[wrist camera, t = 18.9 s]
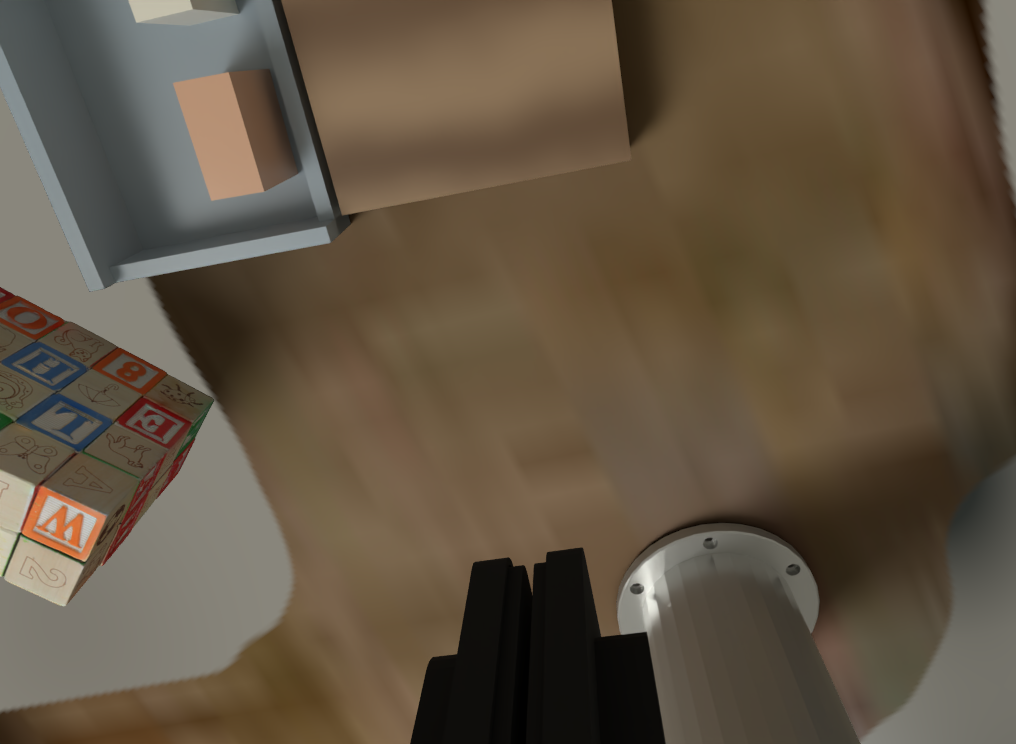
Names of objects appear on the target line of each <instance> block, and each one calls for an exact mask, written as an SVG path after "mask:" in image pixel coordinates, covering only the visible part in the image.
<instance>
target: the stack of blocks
mask: <svg viewBox="0 0 1016 744" xmlns="http://www.w3.org/2000/svg"><path fill="white" fill-rule="evenodd" d="M213 402H214V399H213V398H212V397H210V396H208V395H206V394H204V393H202V392H201V391H199V390H196V389H195V388H193V387H191V386H189V385H187V384H186V383H184V382H181V381H180V380H178V379H176V378H174V377H172V376H170V375H168V374H167V373H166V372H165V371H163V370H162V369H160V368H158V367H156V366H154V365H152V364H150V363H148V362H146V361H145V360H143V359H141V358H139V357H137V356H135V355H133V354H131V353H129V352H127V351H125V350H124V349H121V348H118V347H117V346H116V345H114V344H112V343H110V342H109V341H107V340H105V339H103V338H101V337H100V336H98V335H96V334H94V333H92V332H90V331H88V330H86V329H84V328H83V327H81V326H79V325H77V324H75V323H73V322H67V321H64V320H63V319H62V318H60V317H58V316H55V315H53V314H52V313H50V312H47V311H45V310H44V309H42V308H40V307H39V306H37V305H35V304H33V303H31V302H29V301H27V300H25V299H23V298H21V297H19V296H15V295H13V294H12V293H10V292H8V291H6V290H4V289H2V288H1V287H0V577H1V576H4V578H5V580H6V581H8V582H10V583H12V584H14V585H16V586H18V587H20V588H23V589H25V590H27V591H29V592H32V593H34V594H36V595H38V596H40V597H43V598H45V599H47V600H49V601H51V602H53V603H56V604H58V605H61V606H66V605H67V604H68V603H69V602H70V600H71V599H72V598H73V597H74V596H75V594H76V593H77V592H78V591H79V589H80V588H81V587H82V586H83V584H84V583H85V582H86V581H87V580H88V578H89V577H90V576H91V575H92V574H93V573H94V571H95V570H96V568H97V567H98V566H103V565H104V564H105V563H106V561H107V560H108V559H109V558H110V557H111V556H112V554H113V553H114V552H115V551H116V549H117V548H118V547H119V545H120V544H121V543H122V542H123V541H124V540H125V538H126V537H127V536H128V535H129V533H130V532H131V530H132V528H133V527H134V526H135V525H136V523H137V522H138V521H139V520H140V518H141V517H142V516H143V515H144V513H145V512H146V511H147V510H148V508H149V507H150V506H151V504H152V503H153V502H154V501H155V499H157V498H158V497H159V496H160V494H161V493H162V492H163V491H164V490H165V488H166V487H167V486H168V485H169V483H170V482H171V481H172V480H173V478H175V476H176V475H177V474H178V472H179V471H180V469H181V467H182V465H183V463H184V461H185V459H186V457H187V455H188V453H189V451H190V449H191V447H192V445H193V443H194V441H195V437H196V434H197V433H198V431H199V429H200V427H201V425H202V423H203V421H204V419H205V417H206V415H207V413H208V411H209V409H210V408H211V406H212V404H213Z"/></svg>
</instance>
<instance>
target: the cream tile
mask: <svg viewBox="0 0 1016 744" xmlns="http://www.w3.org/2000/svg"><path fill="white" fill-rule="evenodd" d="M128 1H129V4H130V7H131V9H132V12H133V15H134V18H135V21H136V23H151V24H169V25H187V26H190V25H195V24H199V23H203V22H208V21H212V20H216V19H220V18H225V17H229V16H233V15H238V14H239V11H238V8H237V4H236V1H235V0H128Z"/></svg>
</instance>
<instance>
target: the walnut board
mask: <svg viewBox="0 0 1016 744" xmlns="http://www.w3.org/2000/svg"><path fill="white" fill-rule="evenodd" d="M281 1H282V5H283V8H284V12H285V15H286V19H287V22H288V26H289V30H290V33H291V37H292V40H293V44H294V47H295V51H296V54H297V58H298V61H299V65H300V68H301V72H302V75H303V79H304V83H305V86H306V90H307V93H308V97H309V100H310V104H311V107H312V111H313V114H314V118H315V121H316V125H317V128H318V132H319V136H320V139H321V143H322V146H323V150H324V153H325V157H326V160H327V164H328V167H329V171H330V174H331V178H332V181H333V185H334V189H335V192H336V196H337V199H338V203H339V206H340V210H341V213H342V215H347V214H352V213H358V212H363V211H368V210H373V209H379V208H384V207H389V206H394V205H400V204H405V203H410V202H415V201H421V200H426V199H431V198H436V197H442V196H447V195H452V194H457V193H463V192H468V191H473V190H478V189H484V188H489V187H494V186H499V185H505V184H510V183H515V182H520V181H526V180H531V179H536V178H541V177H547V176H552V175H557V174H562V173H568V172H573V171H578V170H583V169H588V168H594V167H599V166H604V165H609V164H615V163H620V162H625V161H630V160H631V152H630V144H629V136H628V128H627V120H626V112H625V104H624V96H623V88H622V80H621V71H620V63H619V55H618V47H617V39H616V31H615V23H614V15H613V7H612V0H281Z"/></svg>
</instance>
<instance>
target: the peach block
mask: <svg viewBox="0 0 1016 744" xmlns="http://www.w3.org/2000/svg"><path fill="white" fill-rule="evenodd" d="M173 85H174V88H175V91H176V94H177V97H178V101H179V104H180V107H181V110H182V113H183V116H184V119H185V122H186V125H187V128H188V131H189V134H190V137H191V140H192V143H193V146H194V149H195V152H196V155H197V158H198V162H199V165H200V168H201V171H202V174H203V177H204V180H205V183H206V186H207V189H208V192H209V195H210V198H211V201H213V200H219V199H225V198H231V197H237V196H242V195H248V194H254V193H260V192H265V191H267V190H269V189H270V188H272V187H274V186H276V185H278V184H280V183H282V182H284V181H286V180H288V179H290V178H292V177H293V176H295V175H297V174H298V170H297V167H296V163H295V159H294V156H293V152H292V149H291V145H290V141H289V138H288V134H287V131H286V127H285V123H284V120H283V116H282V112H281V109H280V105H279V102H278V98H277V94H276V91H275V87H274V84H273V80H272V76H271V73H270V69H259V70H248V71H236V72H227V73H221V74H216V75H211V76H206V77H201V78H195V79H190V80H185V81H180V82H175V83H173Z"/></svg>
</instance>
